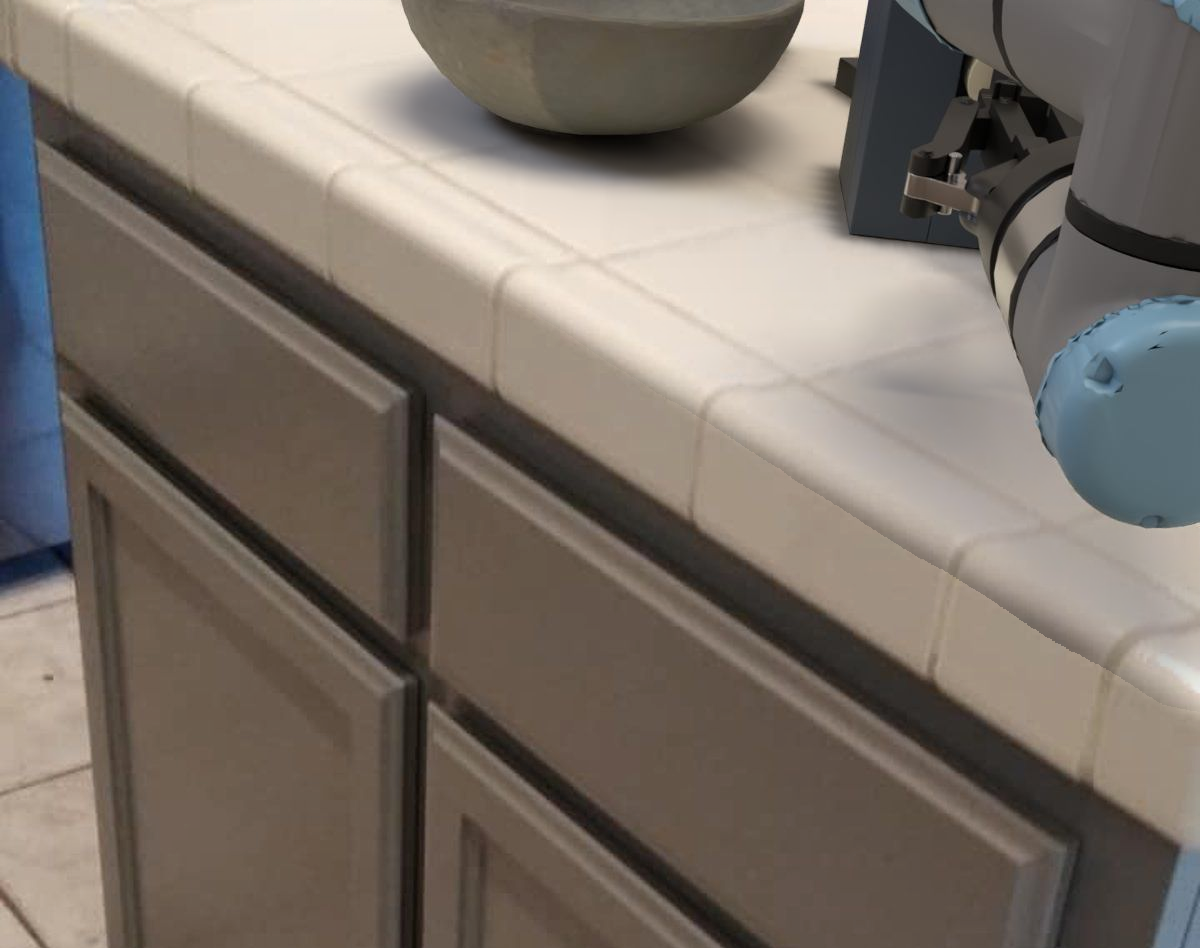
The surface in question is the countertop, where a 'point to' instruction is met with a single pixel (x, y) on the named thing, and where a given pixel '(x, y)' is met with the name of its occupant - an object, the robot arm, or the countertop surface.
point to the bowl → (605, 57)
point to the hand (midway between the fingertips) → (1006, 87)
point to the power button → (975, 75)
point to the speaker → (898, 125)
